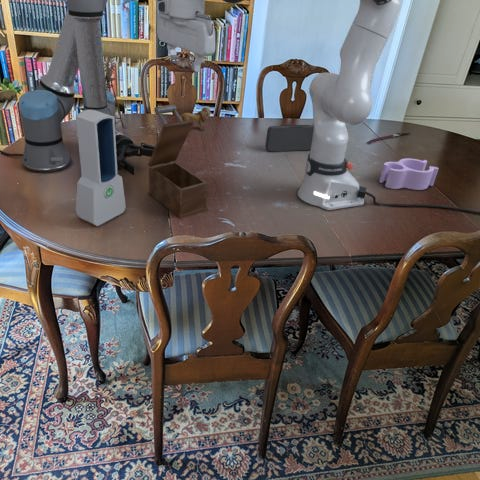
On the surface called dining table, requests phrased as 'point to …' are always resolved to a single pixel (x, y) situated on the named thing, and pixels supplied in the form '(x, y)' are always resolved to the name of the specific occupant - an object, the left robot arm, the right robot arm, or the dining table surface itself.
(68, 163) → the left robot arm
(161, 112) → the lid
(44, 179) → the dining table surface
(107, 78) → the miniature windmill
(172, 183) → the chest
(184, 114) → the lion figurine
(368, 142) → the sword
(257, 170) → the dining table surface
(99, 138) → the electronic device
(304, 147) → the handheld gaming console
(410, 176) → the clip
